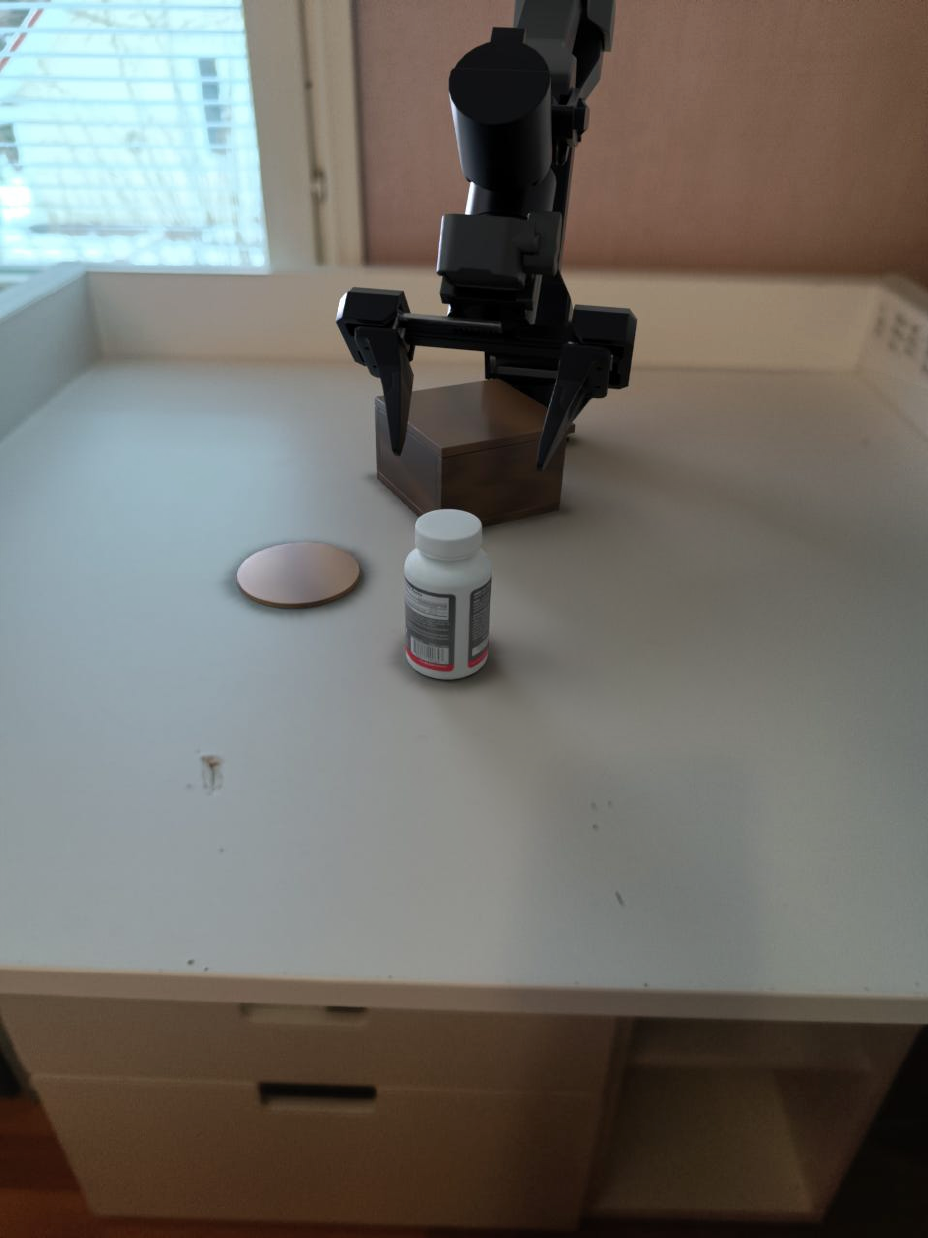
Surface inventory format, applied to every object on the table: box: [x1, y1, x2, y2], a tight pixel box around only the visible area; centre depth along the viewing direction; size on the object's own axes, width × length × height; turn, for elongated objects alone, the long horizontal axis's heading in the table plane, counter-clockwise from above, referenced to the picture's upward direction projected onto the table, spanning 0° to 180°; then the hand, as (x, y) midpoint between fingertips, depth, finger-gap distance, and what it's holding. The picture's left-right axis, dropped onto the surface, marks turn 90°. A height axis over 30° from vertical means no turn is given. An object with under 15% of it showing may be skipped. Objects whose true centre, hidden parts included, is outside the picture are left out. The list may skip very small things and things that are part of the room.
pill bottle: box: [403, 509, 493, 680], centre depth 54 cm, size 5×5×10 cm
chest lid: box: [374, 378, 576, 458], centre depth 74 cm, size 12×13×1 cm
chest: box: [374, 405, 568, 528], centre depth 76 cm, size 12×13×7 cm
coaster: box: [236, 541, 361, 609], centre depth 65 cm, size 9×9×1 cm
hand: (466, 461), depth 55 cm, fingers open, 9 cm apart
